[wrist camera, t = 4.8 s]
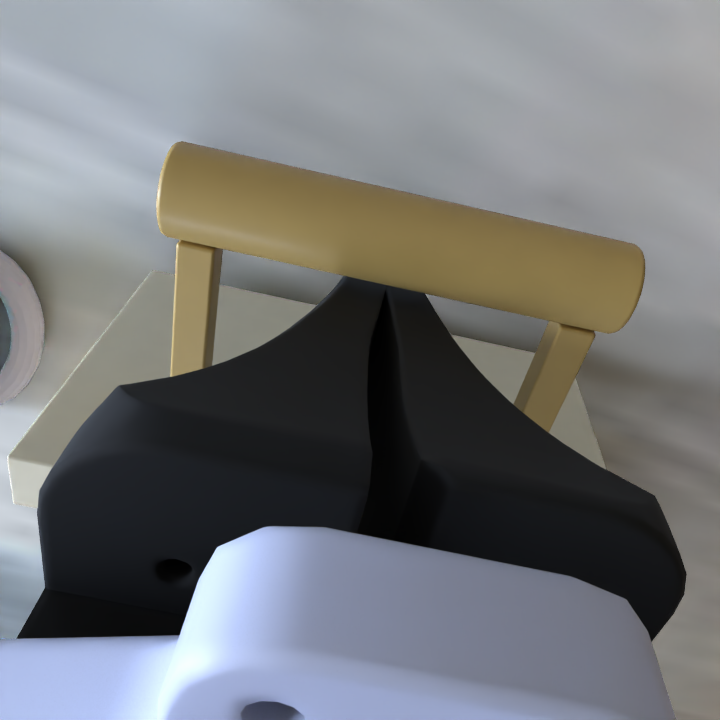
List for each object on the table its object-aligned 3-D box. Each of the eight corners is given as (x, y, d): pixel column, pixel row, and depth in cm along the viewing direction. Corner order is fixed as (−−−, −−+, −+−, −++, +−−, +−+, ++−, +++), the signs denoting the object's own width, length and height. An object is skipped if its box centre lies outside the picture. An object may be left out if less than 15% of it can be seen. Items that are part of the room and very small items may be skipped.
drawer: (158, 42, 14) (-40, 132, 8) (663, 161, 15) (833, 328, 9) (143, 617, 26) (57, 829, 20) (424, 671, 26) (425, 894, 20)
